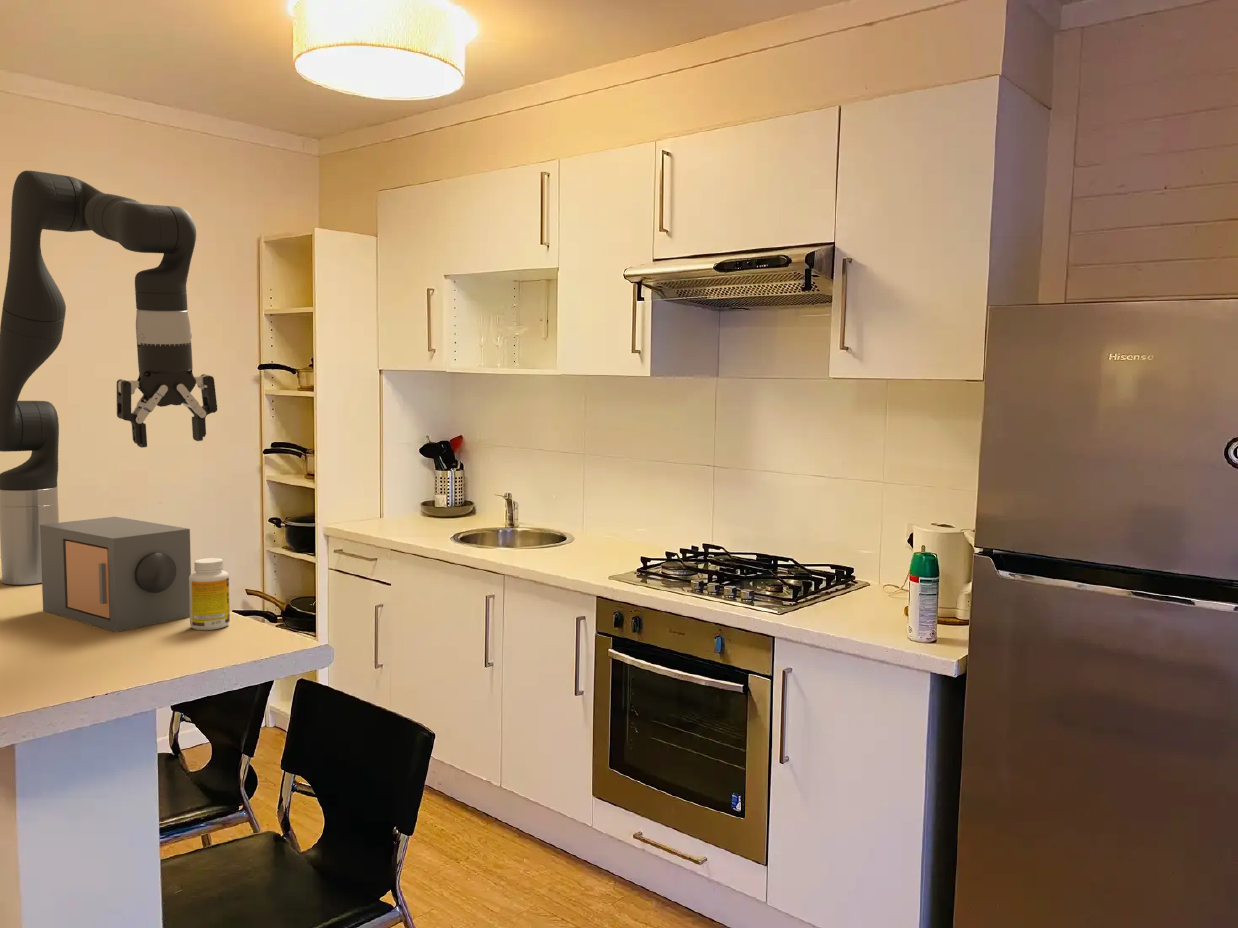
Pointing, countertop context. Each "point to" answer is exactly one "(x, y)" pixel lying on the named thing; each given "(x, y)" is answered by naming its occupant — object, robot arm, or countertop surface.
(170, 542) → the housing
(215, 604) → the supplement bottle
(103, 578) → the door
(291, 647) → the countertop surface
